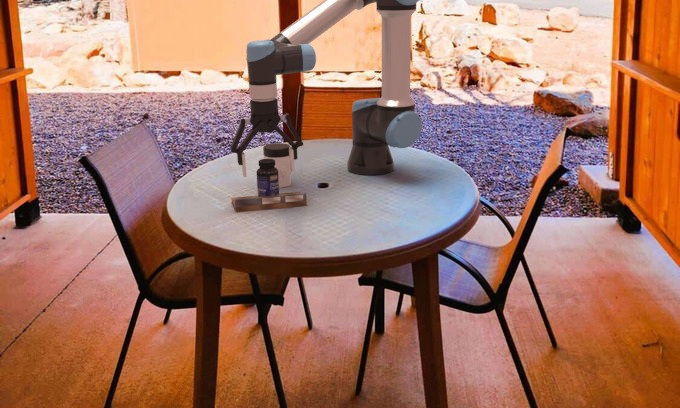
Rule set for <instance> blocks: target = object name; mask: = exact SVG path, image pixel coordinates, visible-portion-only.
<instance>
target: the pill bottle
mask: <svg viewBox="0 0 680 408" xmlns="http://www.w3.org/2000/svg"><path fill="white" fill-rule="evenodd" d="M258 166H259V168H258V169H256V186H257V187H256V188H257V195H258V197H265V196H276V195H279V193H280V188H279V177H278V169H277V168H275V160H274V159H264V158H263V159H259V160H258Z"/></svg>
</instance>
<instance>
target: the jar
mask: <svg viewBox="0 0 680 408" xmlns="http://www.w3.org/2000/svg"><path fill="white" fill-rule="evenodd" d="M290 147H291V145H290V144H289V143H288V144H287V143H282V142H281V143H279V142H275V143H269V144H265V145H263V147H262V148H263V152H262V153H263V159H274V160H275V168H277V169H278V177H279V189H280V188H286V187H290V186H291V187H292V179H291V178H292V177H291V176H292V175H291V173H292V172H291V170H290V158H289V148H290Z"/></svg>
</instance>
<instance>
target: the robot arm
mask: <svg viewBox="0 0 680 408" xmlns="http://www.w3.org/2000/svg"><path fill="white" fill-rule="evenodd" d="M419 1H420V0H322V1H321V2H320V3H319V4H316V6H314V7H313V8H312V9H310V10H309V11H308V12H306V13H305V14H304V15H302V16H301V17H299V18H298V19H296V21H294V22H293V23H291V24H290V25H288V26H287V27H286V28H285V29H283V30H282V31H281V32H279V33H278V34H276V35H275V36H273V37H272V38H270V39H264V40H254V41H253V40H252V41H250V42H248V43H247V44H246V58H245V59H246V63H247V64H246V66H247V75H248V91H249V98H250V100H249V101H250V102H249V105H250V117H248V118H246V117H242V116H241V117H240V118H239V124H238V125H239V126H238V128H237V131H236V133H235V136H234V137H233V139H232V143H231V145H230V148H229V149H230V152H231V153H232V154H236V155H237V156H236V157H237V163H238V166H241V170H242V176H243V178H247V163H246V154H245V152H244V151H245V150H246V148H248V146H249V144H250V143H251V142H252V140H253V139H254V138H255V136H256V135H257V134H258V133H260V134H265V133H273V132H276V133H278V135H280V137H282V139H284V140H285V142H287V143H288V145H289V146H290V148H289V158H290V171H291V173H295V171H296V170H295V160H298V148H300V147H303V146H304V142H303V141H302V139H301V137H300V135H299V134H298V131H297V130H296V128H295V126H294V125H293V123H292V119H291V116H290V115H289V113H287V112H286V113H284V114H282V115H280V114H279V104H278V99H277V97H278V85H277V76H281V75H287V74H288V75H289V74H298V73H304V72H309V71H312V70H313V69H315V66H316V65H317V53H316V51H315V49H314V47H313V45H311V43H312V42H313V41H315V40H316V39H318V38H319V37H320V36H322V35H323V34H324V33H326V32H327V31H328V30H329V29H331V28H332V27H334V26H335V25H337V24H338V23H339V22H340V21H341V20H343V19H344V18H345V17H347V16H348V15H350V14H351V13H352V12H353V11H355V10H357V11H358V10H362V9H364V7H366V6H368V5H370V4H373V3H376V12H377V13H378V14H379V15H380V16H381V97H375V98H374V97H373V98H363V99H357V100H354V101H353V103H352V105H351V106H352V107H351V121H352V123H351V126H352V129H351V131H352V132H351V133H352V135H351V136H352V137H351V138H352V145H351V150H350V153H349V156H348V159H347V166H346V167H347V168H346V169H347V171H349V172H350V173H352V174H357V175H363V176H374V175H384V174H388V172H389V173H390V172H393V171H394V169H395V167H394V166H395V164H394V159H393V155H392V153H391V149H390V147H391V148H398V149H406V148H409V147H411V146H412V145H413V144H415V143H416V141H417V140H418V139H419V138H420V135H421V134H422V130H423V120H422V118H421V117H420V116H419V114H418V113H417V112H416V108H415V107H416V102H415V101H414V100H413V99H412V98H411V45H412V44H411V43H412V40H411V39H412V37H411V36H412V35H411V34H412V32H411V31H412V30H411V29H412V15H413V14H415V12H417V3H418V2H419ZM281 121H282V122H283V123H285V124H286V126H287V127H288V129H289V131H290V133H291V134H292V136H293V138H294V139H295V141H296V142H294V140H293V139H291V138H290V137H289V135H287V134H286V133H285V131H283V130H282V129H281V128H280V127H279V126H278V125H279V123H280V122H281ZM249 124H250V125H251V129H250V131H249V132H248V133H247V135H246V136H245V138H244V139H243V140H242V142H241V143H240V141H241V138H242V136H243V134H244V131H245V128H246V127H247V126H249ZM239 143H240V144H239ZM389 146H390V147H389ZM392 170H393V171H392Z"/></svg>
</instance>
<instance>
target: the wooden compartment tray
mask: <svg viewBox="0 0 680 408" xmlns="http://www.w3.org/2000/svg"><path fill="white" fill-rule="evenodd" d="M307 194H308V193H307V192H301V191H293V192H292V191H291V192H281V193H280V192H279V195H276V196H265V197H258V194H257V195H248V196H236V197H235V196H234V197H231V204H232V207H233V209H234V211H235V213H244V212H245V213H246V212H254V211H255V212H256V211H264V210H265V211H266V210H276V209H287V208H288V209H289V208H296V207H297V208H298V207H305V206H306V207H307V206H308V205H307V204H308V203H307V202H308V201H307V197H308V196H307Z"/></svg>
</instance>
